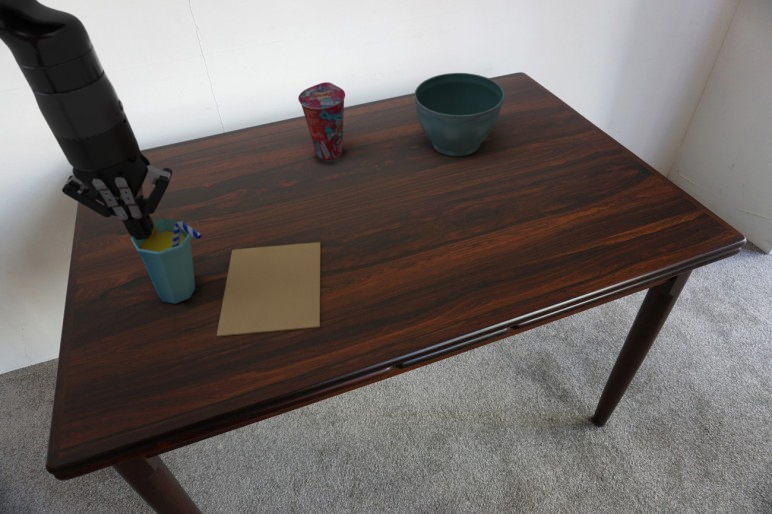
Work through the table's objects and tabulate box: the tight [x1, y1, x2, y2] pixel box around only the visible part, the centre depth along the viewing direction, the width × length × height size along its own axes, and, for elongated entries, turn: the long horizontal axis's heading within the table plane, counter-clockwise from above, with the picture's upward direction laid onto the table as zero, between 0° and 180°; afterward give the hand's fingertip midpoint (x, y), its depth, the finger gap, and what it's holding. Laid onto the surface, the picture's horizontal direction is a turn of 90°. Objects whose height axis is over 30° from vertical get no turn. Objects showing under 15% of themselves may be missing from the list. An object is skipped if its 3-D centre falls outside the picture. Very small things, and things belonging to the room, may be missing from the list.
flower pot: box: [414, 72, 505, 157], centre depth 99 cm, size 16×16×11 cm
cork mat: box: [216, 241, 321, 338], centre depth 77 cm, size 14×17×1 cm
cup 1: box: [130, 214, 202, 305], centre depth 72 cm, size 14×8×15 cm, turn 58°
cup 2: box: [297, 81, 346, 161], centre depth 98 cm, size 9×8×12 cm
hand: (144, 235), depth 69 cm, fingers closed
